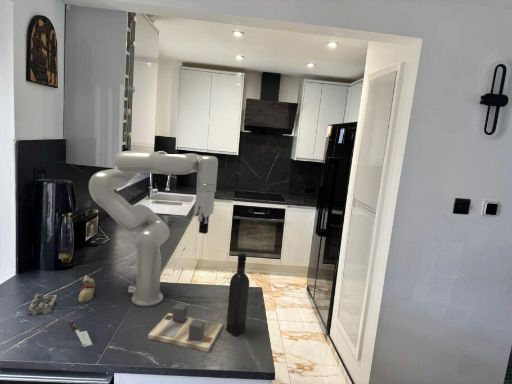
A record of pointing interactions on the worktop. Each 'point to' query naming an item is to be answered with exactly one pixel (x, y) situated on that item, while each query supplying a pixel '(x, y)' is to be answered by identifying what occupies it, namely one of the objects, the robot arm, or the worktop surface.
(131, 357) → the worktop surface
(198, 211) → the robot arm
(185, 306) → the dark grey block
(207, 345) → the switch panel
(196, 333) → the right tab
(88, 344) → the cleaver
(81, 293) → the cream animal figurine
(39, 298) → the egg carton
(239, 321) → the wine bottle
